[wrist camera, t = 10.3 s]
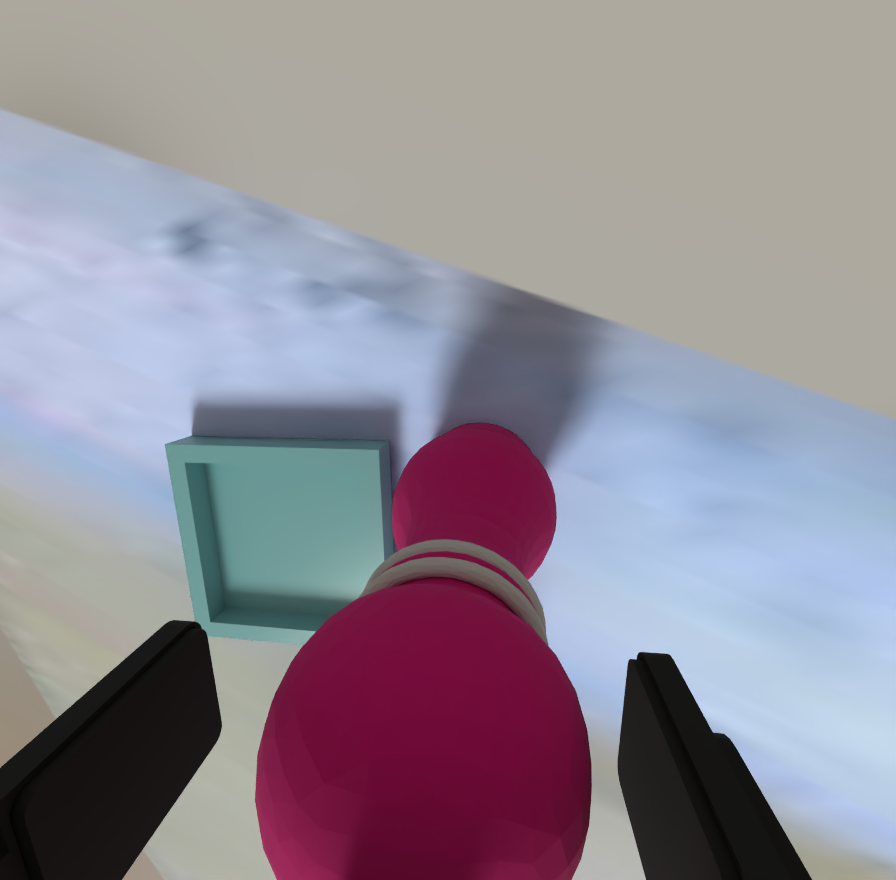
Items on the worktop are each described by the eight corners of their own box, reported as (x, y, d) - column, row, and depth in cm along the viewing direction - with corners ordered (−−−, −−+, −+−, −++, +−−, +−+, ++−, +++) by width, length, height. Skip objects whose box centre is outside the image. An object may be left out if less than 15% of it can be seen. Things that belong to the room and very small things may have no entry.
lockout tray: (389, 440, 24) (378, 449, 22) (397, 629, 26) (388, 652, 24) (191, 436, 25) (164, 444, 23) (218, 614, 28) (197, 635, 26)
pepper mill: (521, 555, 24) (571, 1427, 5) (400, 514, 25) (7, 1165, 5) (567, 437, 22) (948, 1102, 3) (435, 395, 23) (20, 735, 3)
